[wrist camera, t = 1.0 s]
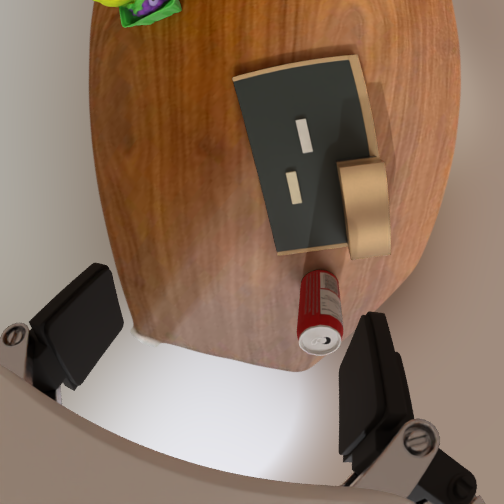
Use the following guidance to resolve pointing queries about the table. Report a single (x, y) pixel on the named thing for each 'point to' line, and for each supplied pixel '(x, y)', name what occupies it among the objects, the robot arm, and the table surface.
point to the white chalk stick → (304, 135)
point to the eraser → (365, 206)
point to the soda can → (319, 314)
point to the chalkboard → (322, 139)
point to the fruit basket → (143, 10)
